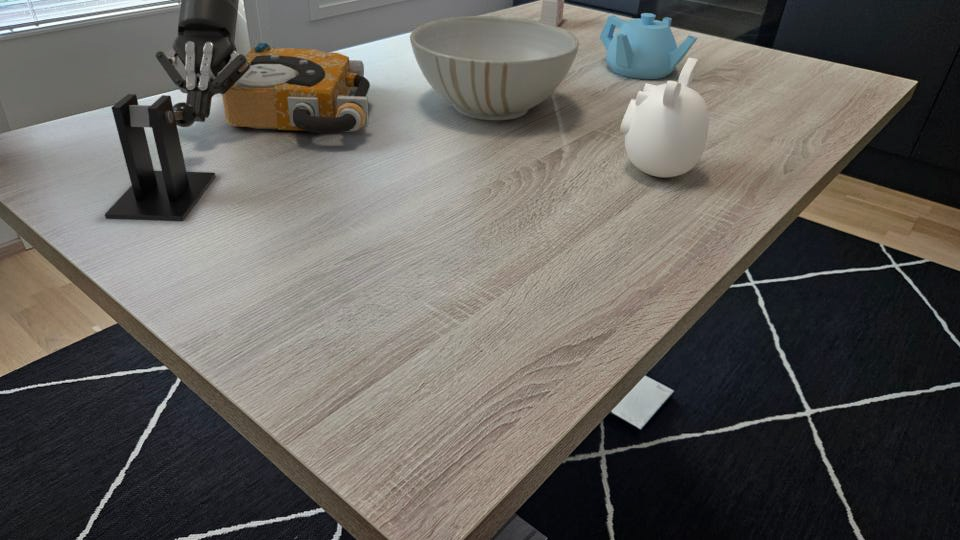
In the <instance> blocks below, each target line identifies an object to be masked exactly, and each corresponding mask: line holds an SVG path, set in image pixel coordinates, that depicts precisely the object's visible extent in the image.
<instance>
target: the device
mask: <svg viewBox="0 0 960 540" xmlns="http://www.w3.org/2000/svg"><path fill="white" fill-rule="evenodd" d="M244 56H245V58H246V59H247V61H248V63H249V64H250V69H249V70H248V71H247V72H246V73H245V74H244V75H243V76H242V77H241V78H240V79H239V80H238V81H237V82H236V83H235V84H234V85H233V86H232V87H231V88H230V89H229V90H228V91H227V92H226V93H225V94H221V96H222V97H221V99H222V103H223V109H224V115H225V121H226V123H228V124H229V125H231V126H232V127H238V128H239V127H240V128H251V129H255V130H276V129H277V130H279V131H298V132H299V131H301V132H308V133H315V134H330V135H331V134H332V135H333V134H343V133H348V132H356V131H358V130H360V129H361V128H362V127H363V128H368V127H369V101H368V99H369V97H368V96H367V95H368V92H369V90H370V87H371V84H370V81H369V79H368V78H366V77H365V65H364V62H363V61H362V60H357V59H356V60H355V59H354V60H352V59H351V60H350V58H349V56H347V55H345V54H342V53H339V52H327V51H321V50H319V49H311V48H309V49H308V48H293V47H292V48H291V47H274V46H273V47H271V46H270V45H269V43H266V42H258V44H257V45H256V46H254V47H252V48H251V49H250V51H248V53H247V54H245V55H244ZM352 89H356V90H355V92H354V95H350V94H351V92H352Z"/></svg>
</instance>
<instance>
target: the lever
mask: <svg viewBox="0 0 960 540" xmlns="http://www.w3.org/2000/svg"><path fill="white" fill-rule="evenodd" d="M150 106H151V105H149V104H148V105H145V104H143V105H142V104H138V105H129V110H130V123H131V127H144V128H152V126H151V122H150V117H149V113H148V108H149V107H150ZM173 110H174V115H175V120H176V124H177V127H179V128H189V127H192V126H193V125H194V124H195V123H196V122H195V121H196V117H197V115H196V111H195V109H194V108H193V107H192V106H191V105H190V104H188V103H186V102H177V103H175V104H174V105H173Z"/></svg>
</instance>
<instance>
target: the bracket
mask: <svg viewBox="0 0 960 540" xmlns="http://www.w3.org/2000/svg"><path fill="white" fill-rule="evenodd" d="M129 105H139V101H138V97H137V94H134V93H128V94H126V95H125V96H123V97H122V98H121V99H120V100H119V101H117V102H116V103H115V104H113V105H112V106H111V111H112V115H113V120H114V123H115V126H116V127H115V128H116V131H117V134H118V138H119V143H120V146H121V149H122V153H123V157H124V161H125V165H126V169H127V172H128V176H129V181H130V184H131V185H130V186H129V187H128V189H126V191H125V192H124V193H123V194H122V195H121V196H120V197H119V198H118V199H117V200H116V201H115V202H114V204H113V205H112V206H111V207H110V208H109V209H108V210H107V211H106V212H105V213H104V217H105V219H106V220H131V221H133V220H134V221H161V222H163V221H164V222H184V221H185V220H186V218H187V217H188V215H190V213H191V212H192V210H193V209H194V207H195V206H196V205H197V203H198V202H199V200H200V199H201V198H202V197H203V195H204V194H205V192H206V191H207V189H208V188H209V187H210V185H211V184H212V183H213V181H214V180H215V178H216V172H207V171H187V167H186V162H185V157H184V153H183V148H182V143H181V139H180V135H179V130H178V126H177V124H176V120H175V115H174V110H173V106H174V105H173V101H172V96H171V95H164V94H163V95H161V96H160V97H158V98H157V99H156V100H155V101H154V102H153V103H151V105H149V106H150V107H149V108H148V113H149V117H150V122H151V126H152V127H151V131H152V135H153V139H154V144H155V147H156V152H157V156H158V161H159V165H160V169H161V170H155V168H154V164H153V159H152V156H151V152H150V147H149V143H148V139H147V134H146V130H145V127H131V123H130V110H129Z"/></svg>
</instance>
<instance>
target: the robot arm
mask: <svg viewBox="0 0 960 540" xmlns="http://www.w3.org/2000/svg"><path fill="white" fill-rule="evenodd" d="M239 3H240V0H180V7H179V15H178V16H179V17H178V24H177V36H176V38H175V39H174V41H173V42H172V48H170V49H168V50H167V51H165V52H164V51H162V50H161V51H160V50H159V51H157V52H156V53H155V59H156V60H157V61H158V63H159V64H160V65H161V67H162V68H163V70H164V71H165V72H166V74H167V75H168V76H169V78H170V80H171V81H172V82H173V84H174V85H175V87H177V88H178V90H179V91H180V92H181V93H183V94H186V101H185V103H188V104H190V105H191V106H192V107H193V108H194V109H195V111H196V115H197V117H196V121H195V122H194V123H205V122H206V119H208V118H209V117H210V115H211V107H212V99H213V97H214V96H215V95H219V94H220V95H222V94H225V93H226V92H227V91H228V90H229V89H230V88H231V87H232V86H233V85H234V84H235V83H236V82H237V81H238V80H239V79H240V78H241V77H242V76H243V75H244V74H245V73H246V72H247V71H248V70H249V69H250V64H249V63H248V61H247V59H246V58H245V56H246V55H245V54H243V53H241V54H240V53H238V51H237V47H236V45H235V39H236V31H237V22H238V12H239ZM178 58H179V60H180V61H181V63H182V65H183V67H185V69H184V70H185V74H186V77H185V78H186V79H184V78H183V77H182V75H181V74H180V72H179V71H178V70H177V67H178V64H179V62H178Z"/></svg>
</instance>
